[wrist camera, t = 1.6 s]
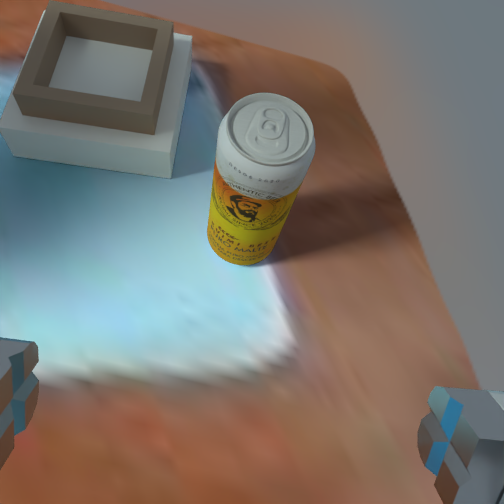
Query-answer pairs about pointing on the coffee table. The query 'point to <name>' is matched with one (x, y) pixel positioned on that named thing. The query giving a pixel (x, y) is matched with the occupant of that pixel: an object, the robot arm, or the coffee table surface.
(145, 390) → the coffee table surface
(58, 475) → the coffee table surface
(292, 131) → the beer can
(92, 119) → the display plinth
